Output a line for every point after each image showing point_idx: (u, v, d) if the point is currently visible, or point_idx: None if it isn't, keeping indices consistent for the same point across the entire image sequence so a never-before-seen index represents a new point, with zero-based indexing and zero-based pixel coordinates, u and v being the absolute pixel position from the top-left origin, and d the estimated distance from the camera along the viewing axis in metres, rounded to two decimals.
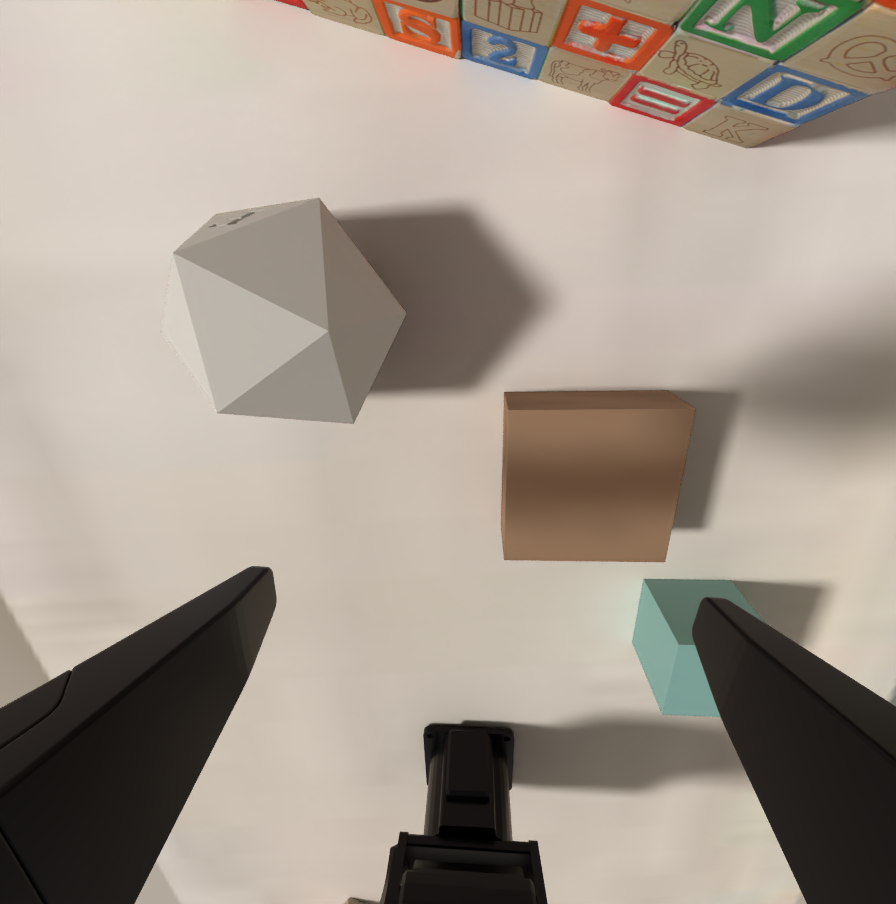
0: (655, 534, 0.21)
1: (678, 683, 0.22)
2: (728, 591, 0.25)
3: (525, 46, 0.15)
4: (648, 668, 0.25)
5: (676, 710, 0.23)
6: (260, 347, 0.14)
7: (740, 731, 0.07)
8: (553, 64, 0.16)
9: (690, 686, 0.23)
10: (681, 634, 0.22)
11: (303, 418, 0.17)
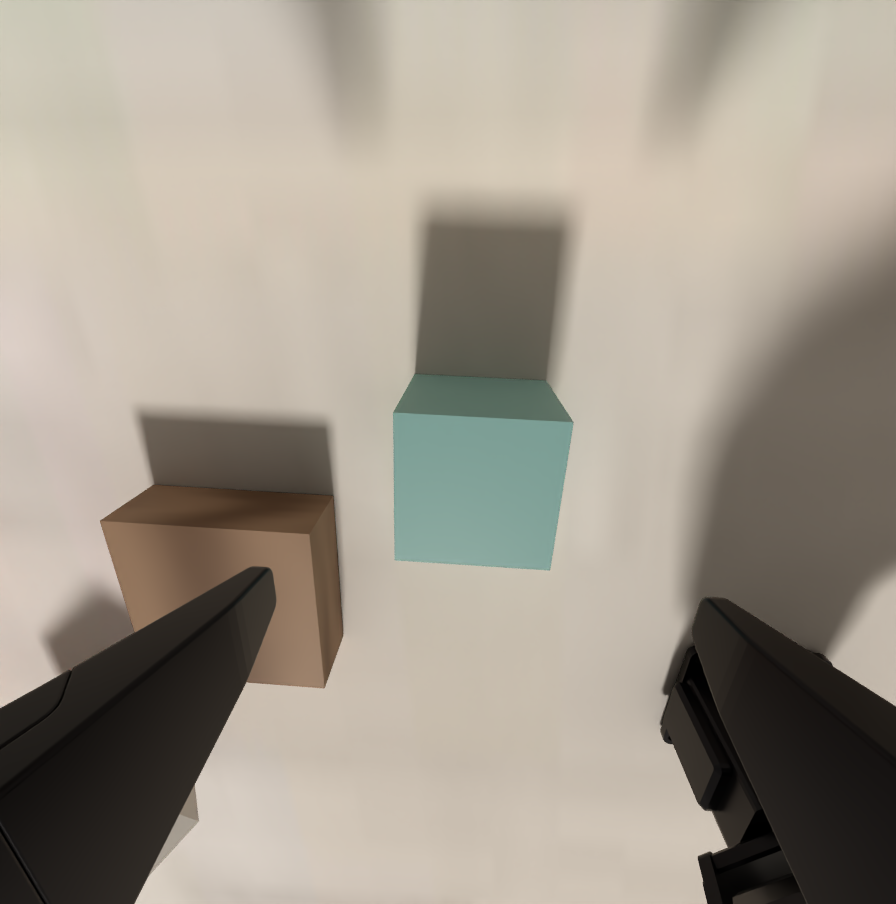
0: (268, 547, 0.17)
1: (478, 554, 0.14)
2: None
3: None
4: None
5: (539, 552, 0.14)
6: None
7: (740, 731, 0.07)
8: None
9: (484, 536, 0.14)
10: None
11: None
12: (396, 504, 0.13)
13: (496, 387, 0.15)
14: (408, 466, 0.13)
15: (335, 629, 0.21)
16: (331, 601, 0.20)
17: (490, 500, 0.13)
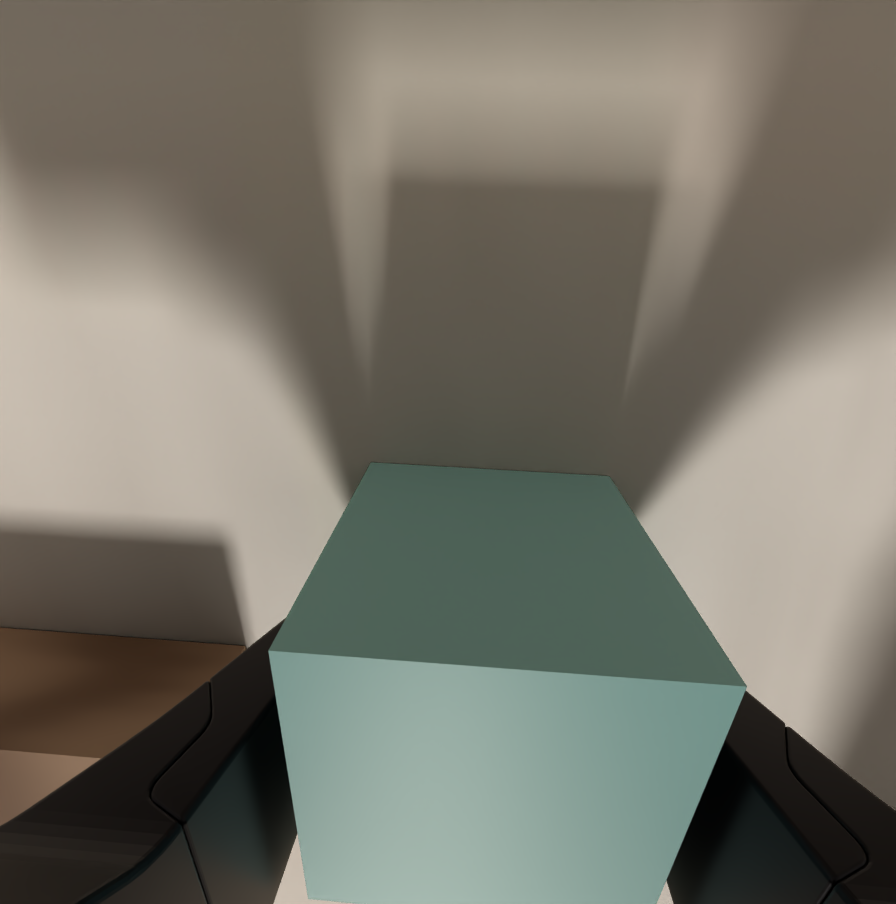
0: None
1: (488, 899, 0.06)
2: None
3: None
4: None
5: None
6: None
7: None
8: None
9: (503, 876, 0.06)
10: None
11: None
12: (300, 816, 0.06)
13: (522, 507, 0.08)
14: (321, 754, 0.05)
15: None
16: None
17: (518, 819, 0.06)
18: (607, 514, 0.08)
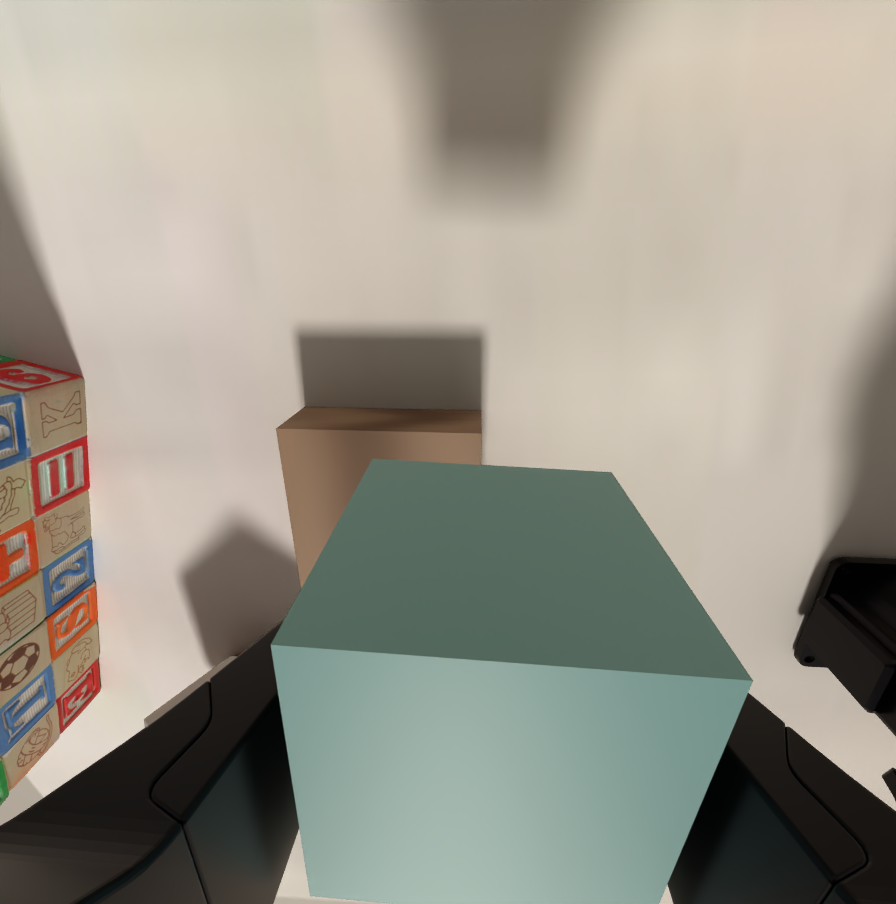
0: (439, 449, 0.17)
1: (491, 896, 0.06)
2: None
3: (55, 571, 0.22)
4: None
5: (629, 902, 0.06)
6: None
7: None
8: (61, 550, 0.22)
9: (506, 873, 0.06)
10: None
11: None
12: (302, 812, 0.06)
13: (524, 503, 0.08)
14: (323, 750, 0.05)
15: None
16: None
17: (521, 816, 0.06)
18: (610, 510, 0.08)
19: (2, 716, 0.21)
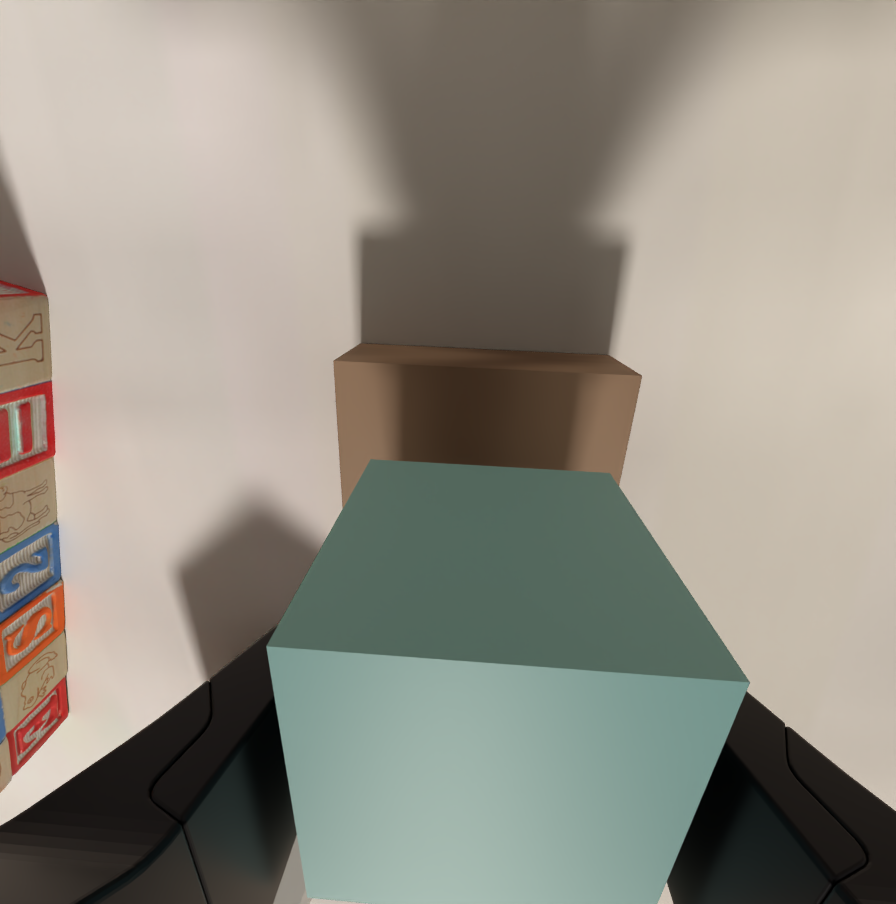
0: (574, 399, 0.12)
1: (488, 899, 0.06)
2: None
3: (4, 566, 0.16)
4: None
5: None
6: None
7: None
8: (14, 537, 0.16)
9: (503, 875, 0.06)
10: None
11: None
12: (299, 813, 0.06)
13: (522, 503, 0.08)
14: (320, 751, 0.05)
15: None
16: None
17: (518, 817, 0.06)
18: (608, 510, 0.08)
19: None
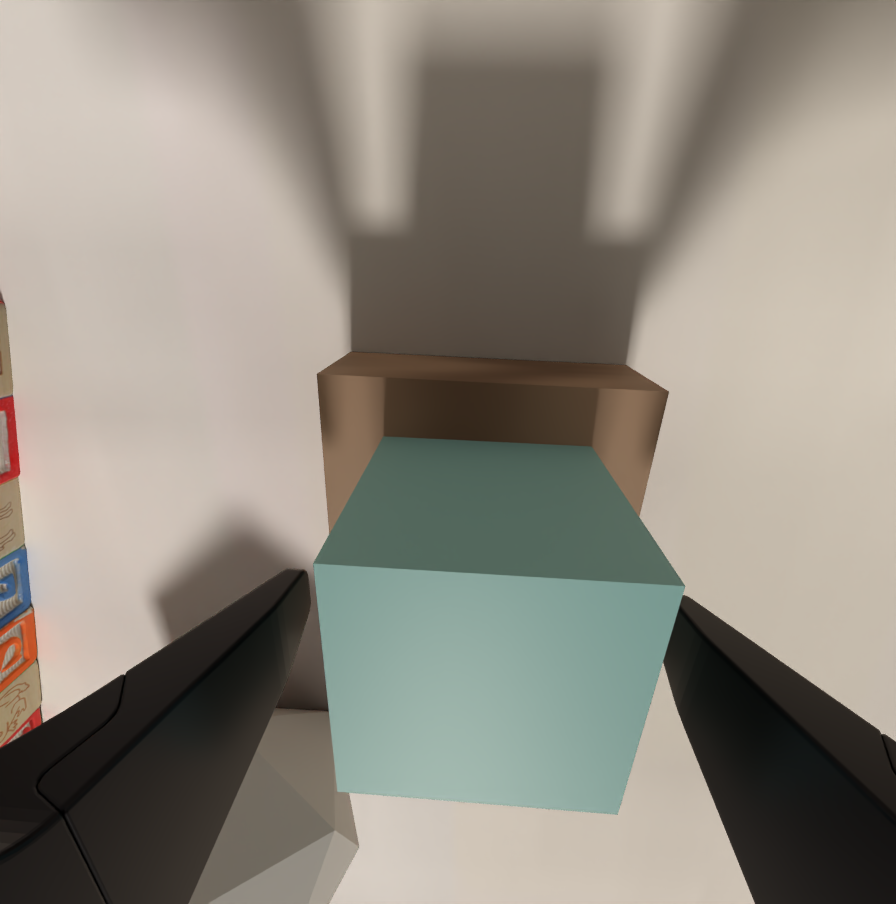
0: (590, 418, 0.10)
1: (487, 787, 0.08)
2: None
3: None
4: None
5: (600, 789, 0.07)
6: None
7: (695, 727, 0.08)
8: None
9: (499, 764, 0.07)
10: None
11: None
12: (333, 712, 0.07)
13: (515, 469, 0.09)
14: (351, 654, 0.07)
15: None
16: None
17: (511, 710, 0.07)
18: (587, 474, 0.09)
19: None
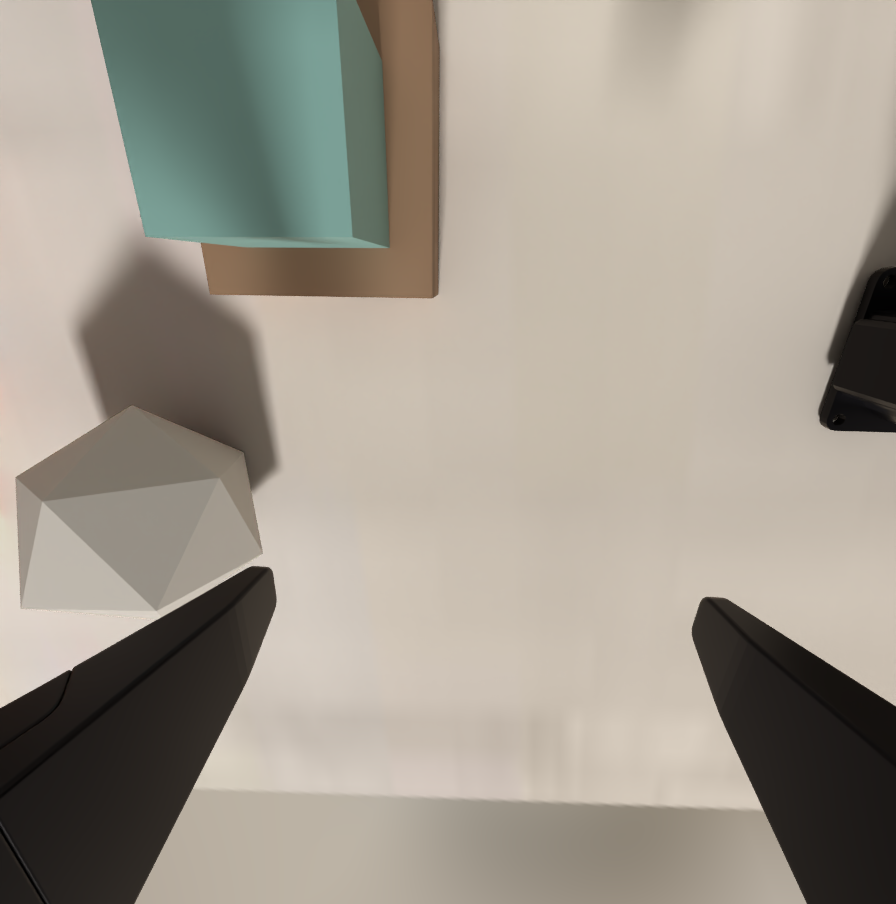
0: (376, 31, 0.13)
1: (251, 215, 0.10)
2: None
3: None
4: (347, 243, 0.12)
5: (333, 205, 0.10)
6: (79, 562, 0.15)
7: (740, 731, 0.07)
8: None
9: (254, 182, 0.10)
10: None
11: (192, 530, 0.16)
12: (124, 132, 0.10)
13: None
14: (125, 57, 0.09)
15: (436, 255, 0.17)
16: (436, 198, 0.16)
17: (248, 111, 0.09)
18: None
19: None
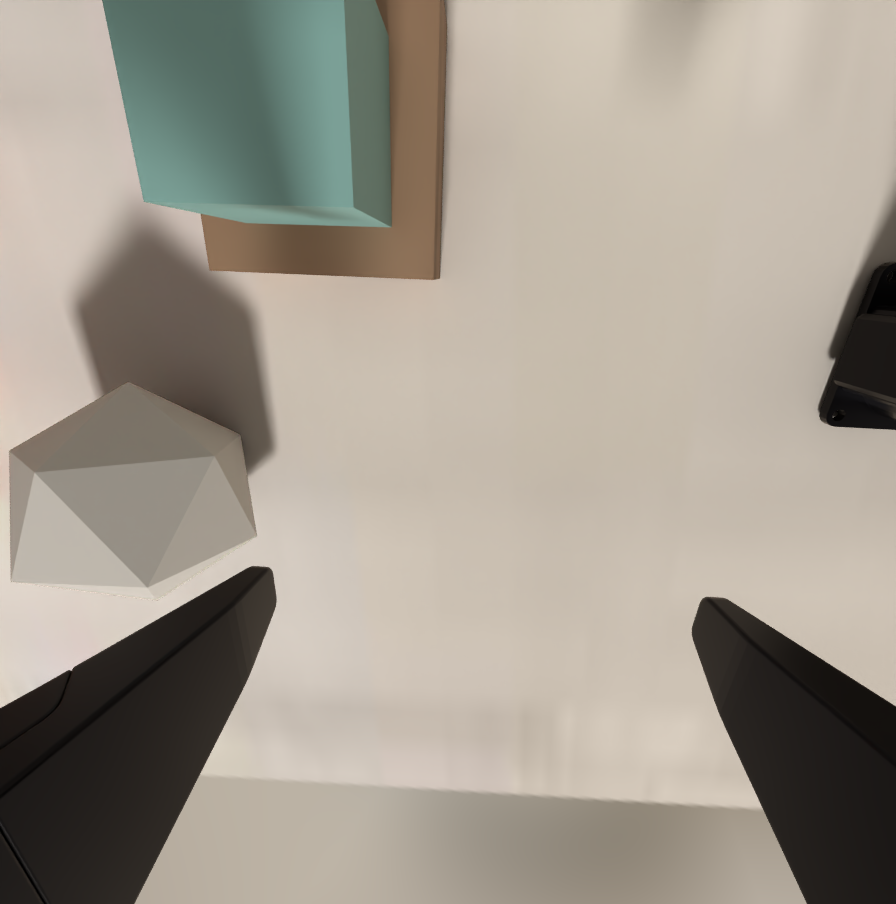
0: (383, 4, 0.13)
1: (252, 181, 0.10)
2: None
3: None
4: (349, 218, 0.12)
5: (334, 174, 0.10)
6: (70, 535, 0.15)
7: (740, 731, 0.07)
8: None
9: (255, 149, 0.10)
10: None
11: (185, 507, 0.16)
12: (124, 93, 0.10)
13: None
14: (126, 15, 0.09)
15: (438, 237, 0.17)
16: (439, 179, 0.16)
17: (250, 74, 0.09)
18: None
19: None
